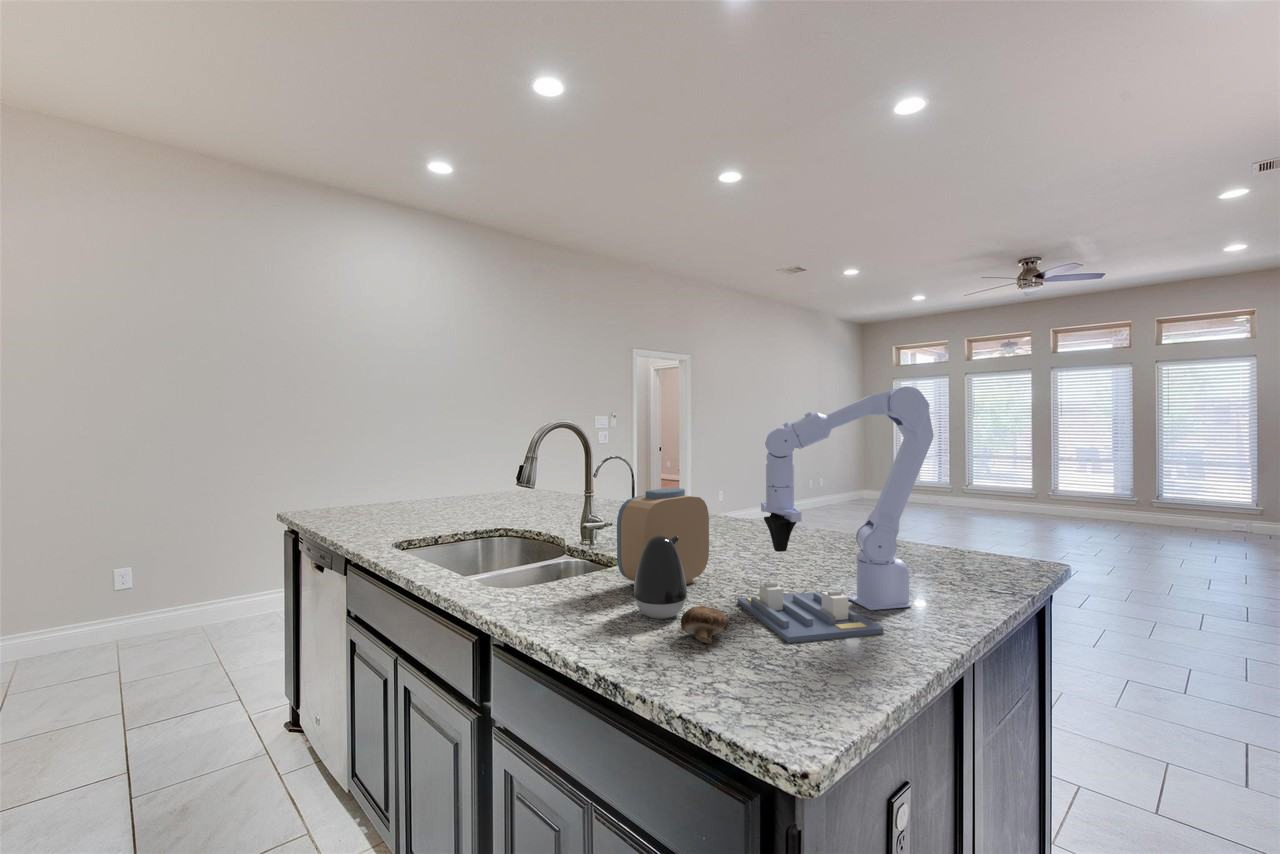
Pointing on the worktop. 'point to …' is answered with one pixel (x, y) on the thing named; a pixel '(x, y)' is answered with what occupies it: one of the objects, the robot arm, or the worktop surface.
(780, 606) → the tab
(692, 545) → the alarm clock
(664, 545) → the pump dispenser
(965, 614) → the worktop surface
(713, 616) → the mushroom
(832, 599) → the tab
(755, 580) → the worktop surface
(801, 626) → the switch board
